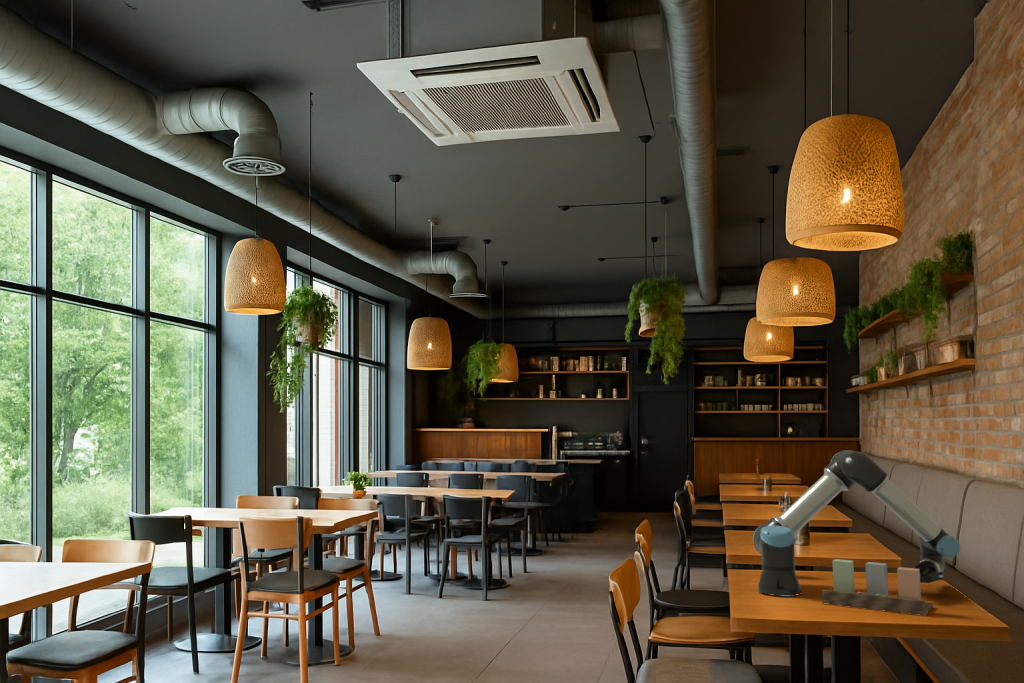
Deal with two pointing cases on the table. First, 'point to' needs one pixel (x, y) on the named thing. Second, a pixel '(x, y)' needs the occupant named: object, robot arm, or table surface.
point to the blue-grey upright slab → (877, 578)
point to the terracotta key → (909, 583)
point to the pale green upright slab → (843, 575)
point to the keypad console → (876, 602)
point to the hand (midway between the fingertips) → (914, 581)
